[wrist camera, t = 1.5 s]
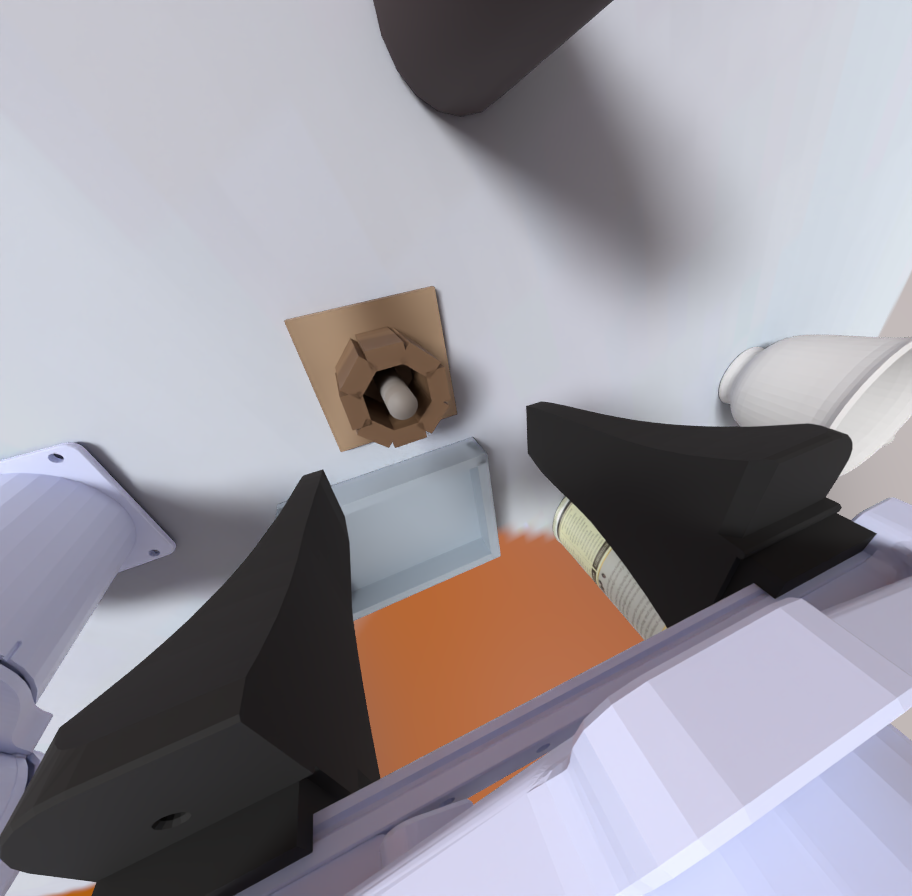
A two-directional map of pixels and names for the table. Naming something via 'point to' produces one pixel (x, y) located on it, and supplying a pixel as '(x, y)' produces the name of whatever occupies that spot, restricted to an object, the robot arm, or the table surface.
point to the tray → (417, 523)
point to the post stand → (332, 330)
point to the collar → (374, 416)
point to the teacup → (826, 387)
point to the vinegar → (475, 44)
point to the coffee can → (605, 568)
